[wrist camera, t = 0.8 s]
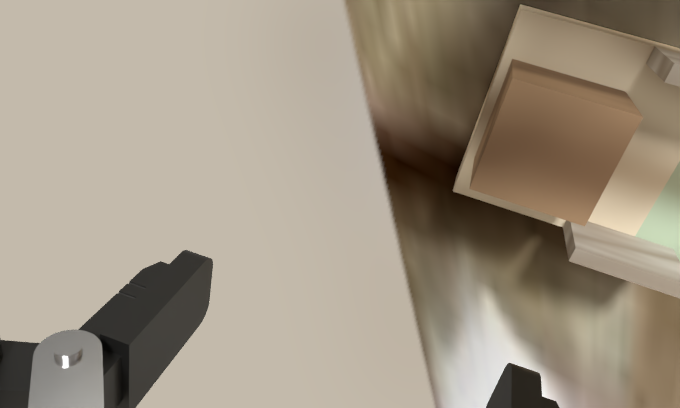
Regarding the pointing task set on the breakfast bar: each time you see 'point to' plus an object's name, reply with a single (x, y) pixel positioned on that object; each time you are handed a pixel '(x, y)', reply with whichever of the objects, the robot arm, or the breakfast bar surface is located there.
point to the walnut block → (553, 141)
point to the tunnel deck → (638, 159)
